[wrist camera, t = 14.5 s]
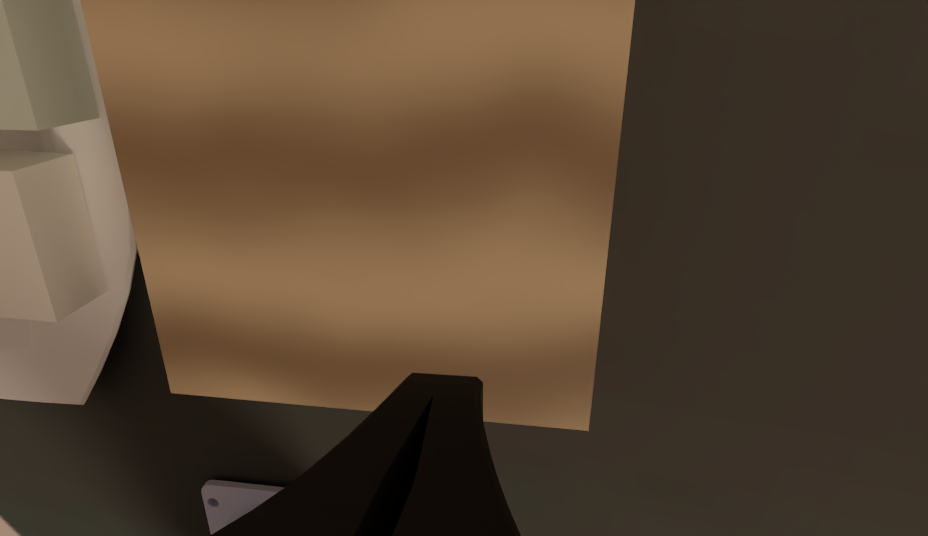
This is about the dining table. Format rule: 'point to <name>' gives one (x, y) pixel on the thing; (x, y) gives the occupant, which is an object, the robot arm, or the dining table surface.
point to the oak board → (371, 192)
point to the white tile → (45, 238)
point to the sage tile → (42, 66)
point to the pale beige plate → (96, 324)
